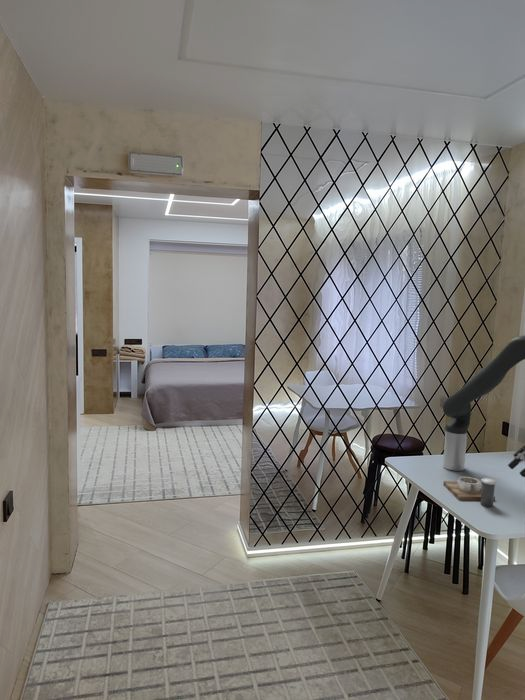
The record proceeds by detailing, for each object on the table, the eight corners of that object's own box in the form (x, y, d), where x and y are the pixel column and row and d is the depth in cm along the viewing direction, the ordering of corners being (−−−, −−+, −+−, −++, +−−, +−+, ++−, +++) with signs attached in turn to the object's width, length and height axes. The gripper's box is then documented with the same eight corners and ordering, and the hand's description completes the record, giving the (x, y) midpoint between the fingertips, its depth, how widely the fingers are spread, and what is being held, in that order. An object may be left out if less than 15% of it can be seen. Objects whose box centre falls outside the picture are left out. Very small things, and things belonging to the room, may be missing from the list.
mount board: (443, 484, 209) (443, 481, 209) (476, 485, 209) (476, 481, 209) (458, 500, 193) (459, 496, 193) (494, 500, 194) (495, 497, 193)
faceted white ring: (453, 484, 205) (454, 476, 205) (474, 485, 206) (474, 476, 205) (462, 492, 197) (462, 484, 197) (483, 493, 197) (484, 484, 197)
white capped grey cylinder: (477, 502, 192) (479, 478, 191) (490, 502, 192) (492, 478, 191) (483, 507, 187) (485, 482, 186) (496, 507, 187) (498, 483, 186)
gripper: (531, 430, 194) (499, 458, 195) (553, 440, 180) (519, 470, 181) (543, 443, 195) (512, 471, 196) (566, 455, 181) (532, 485, 182)
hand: (515, 471), depth 188 cm, fingers open, 8 cm apart
